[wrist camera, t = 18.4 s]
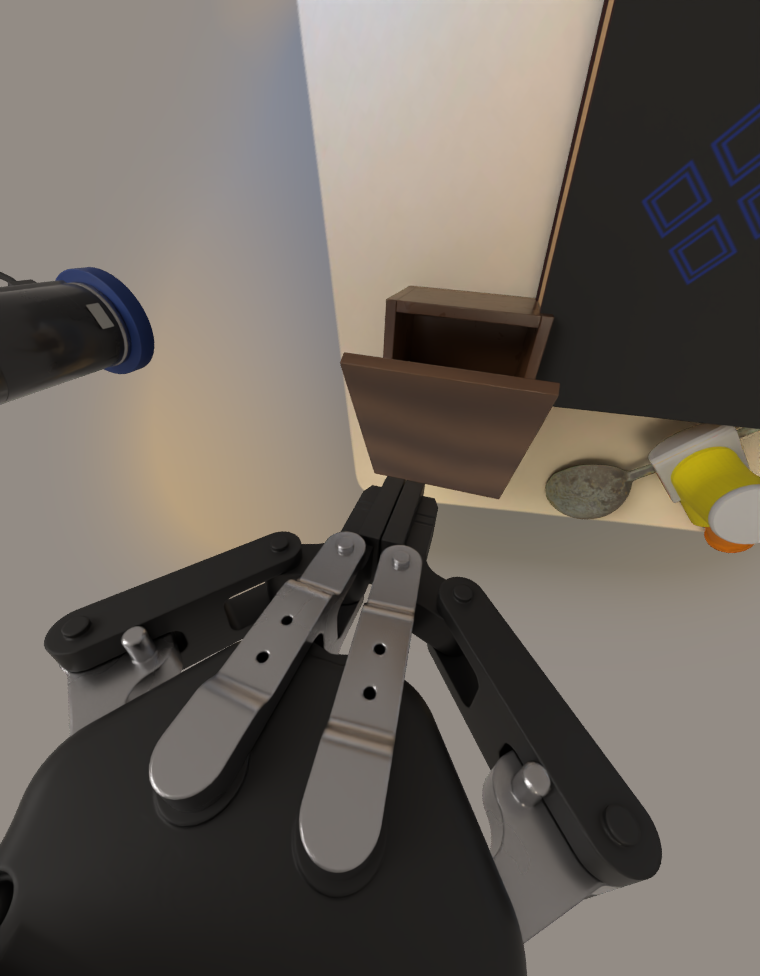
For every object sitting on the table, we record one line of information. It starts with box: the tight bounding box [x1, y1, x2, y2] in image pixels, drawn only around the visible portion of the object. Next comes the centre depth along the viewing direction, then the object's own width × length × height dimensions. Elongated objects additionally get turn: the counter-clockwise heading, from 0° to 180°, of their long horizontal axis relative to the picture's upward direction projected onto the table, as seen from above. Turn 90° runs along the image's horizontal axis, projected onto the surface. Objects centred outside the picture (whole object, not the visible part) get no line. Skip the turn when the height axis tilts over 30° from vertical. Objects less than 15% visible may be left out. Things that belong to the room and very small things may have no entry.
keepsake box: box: [383, 286, 554, 379], centre depth 32 cm, size 15×12×8 cm
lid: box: [340, 353, 560, 499], centre depth 26 cm, size 15×12×1 cm
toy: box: [648, 423, 760, 553], centre depth 30 cm, size 5×15×10 cm, turn 43°
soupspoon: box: [546, 428, 760, 519], centre depth 33 cm, size 22×3×7 cm
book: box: [534, 0, 760, 429], centre depth 22 cm, size 17×25×7 cm
